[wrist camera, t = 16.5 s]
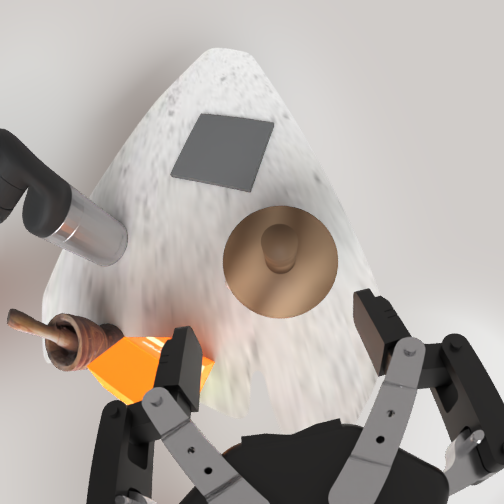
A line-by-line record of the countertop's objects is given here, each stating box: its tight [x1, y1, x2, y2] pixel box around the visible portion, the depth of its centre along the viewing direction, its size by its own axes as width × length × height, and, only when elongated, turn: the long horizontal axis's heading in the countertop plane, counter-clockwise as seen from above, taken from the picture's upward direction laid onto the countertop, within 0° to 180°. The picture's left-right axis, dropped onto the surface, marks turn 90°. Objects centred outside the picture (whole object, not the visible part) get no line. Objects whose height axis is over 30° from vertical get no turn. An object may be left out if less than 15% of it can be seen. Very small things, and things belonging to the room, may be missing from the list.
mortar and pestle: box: [7, 309, 124, 371], centre depth 35 cm, size 12×9×20 cm
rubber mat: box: [170, 114, 274, 192], centre depth 52 cm, size 16×16×1 cm
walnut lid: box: [223, 206, 338, 318], centre depth 31 cm, size 14×14×8 cm
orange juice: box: [87, 337, 215, 405], centre depth 33 cm, size 8×9×20 cm
